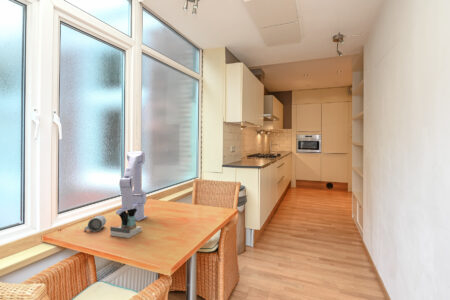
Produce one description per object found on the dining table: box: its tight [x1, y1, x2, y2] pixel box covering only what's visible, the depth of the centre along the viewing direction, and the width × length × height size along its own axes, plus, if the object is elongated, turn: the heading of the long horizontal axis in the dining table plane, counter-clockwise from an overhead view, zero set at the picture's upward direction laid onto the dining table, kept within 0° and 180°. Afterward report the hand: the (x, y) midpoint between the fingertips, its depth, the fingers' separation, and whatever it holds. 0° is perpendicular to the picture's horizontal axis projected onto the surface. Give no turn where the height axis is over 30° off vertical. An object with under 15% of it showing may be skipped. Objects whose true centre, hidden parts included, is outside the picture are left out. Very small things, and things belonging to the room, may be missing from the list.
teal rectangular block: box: [120, 216, 137, 230], centre depth 128 cm, size 7×4×6 cm, turn 71°
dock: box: [109, 225, 142, 239], centre depth 127 cm, size 12×10×4 cm
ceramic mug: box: [84, 214, 107, 233], centre depth 133 cm, size 11×8×8 cm
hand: (128, 223), depth 128 cm, fingers closed on teal rectangular block, 4 cm apart
